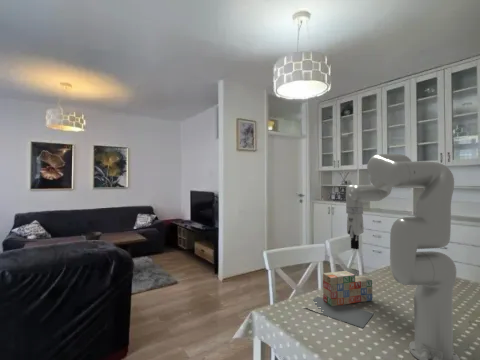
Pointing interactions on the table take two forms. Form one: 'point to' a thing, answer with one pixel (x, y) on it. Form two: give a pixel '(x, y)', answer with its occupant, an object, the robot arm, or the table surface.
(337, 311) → the mat
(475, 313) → the table surface
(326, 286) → the stack of blocks
